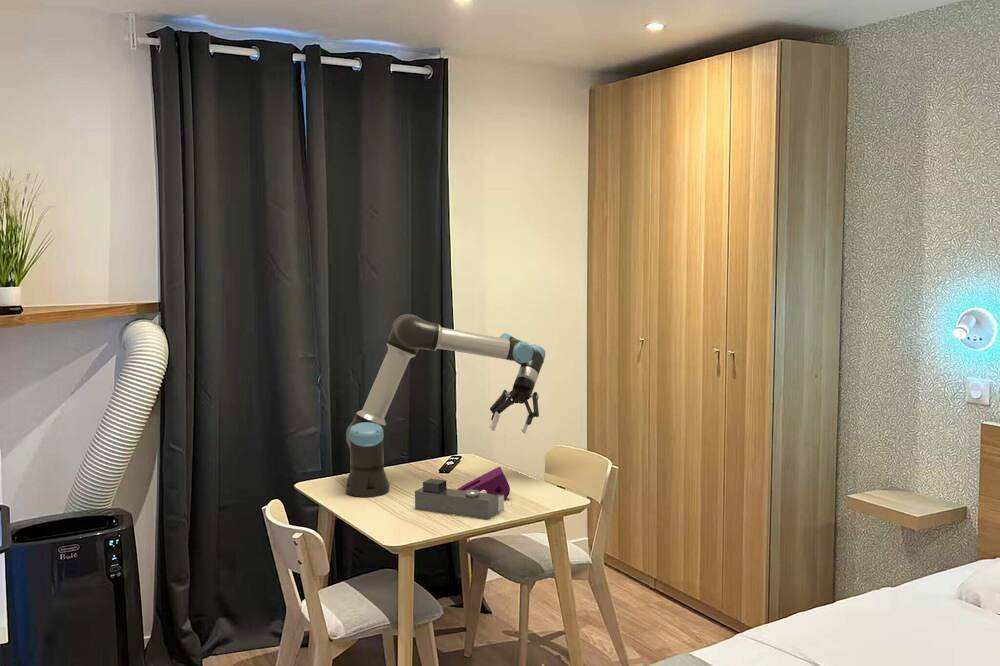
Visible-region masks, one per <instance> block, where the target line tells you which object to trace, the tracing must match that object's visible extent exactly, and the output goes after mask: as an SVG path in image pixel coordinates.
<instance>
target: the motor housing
mask: <svg viewBox="0 0 1000 666" xmlns="http://www.w3.org/2000/svg"><path fill="white" fill-rule="evenodd" d="M447 485H448V484H447V480H445V479H437V478H428V479H427V480H424V481H423V482H422V487H421V488H418V489H416V490H415V491H414V509H415V510H421V511H427V512H432V513H433V512H434V513H439V512H441V513H440V514H446V513H448V515H453V514H455V516H460V515H461V516H462V515H463V516H462V517H467V516H469V517H468V518H474V517H476V518H475V519H481V518H483V519H482V520H488V519H489V520H490V519H492V518H493V516H494V517H495V516H497V515H498V513H499V512H500V513H502V512H504V511H505V500H504V495H499V494H498V495H493V494H487V493H483V492H479V491H478V490H467V491H462V490H457V489H453V488H447ZM501 511H502V512H501ZM500 513H499V514H500ZM496 514H497V515H496ZM491 517H492V518H491Z"/></svg>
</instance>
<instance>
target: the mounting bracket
mask: <svg viewBox="0 0 1000 666" xmlns="http://www.w3.org/2000/svg"><path fill="white" fill-rule="evenodd" d="M456 490H462V491H467V490H478V491H479V493H481V492H483V491H485V492H486V494H493V495H498V494H499V495H504V501H505V500H506V499H507V498H508V497H509V495H510V492H511V488H510V484H509V481H508V480H507V477H506V475H505V474H504V471H503V470H502V467H501V466H497V467H496V468H494V469H492V470H490V471H488V472H486V473H485V474H482V475H480V476H478V477H475V479H473V480H470V481H469V482H467V483H465V484H463V485H462V486H460V487H458V488H457V489H456Z"/></svg>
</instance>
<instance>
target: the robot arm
mask: <svg viewBox="0 0 1000 666" xmlns="http://www.w3.org/2000/svg"><path fill="white" fill-rule="evenodd" d="M390 329H391V332H390V335H389V336H388V339H387V342H386V347H387V352H386V354H385V356H384V358H383V361H382V363H381V366H380V368H379V370H378V373H377V375H376V377H375V379H374V382H373V383H372V387H371V389H370V391H369V394H368V395H367V398H366V401H365V402H364V405H363V407H362V409H361V410H358V411H357V412H356V413H355V416H354V418H353V419H352V422H351V423H350V424H349V426H348V427H347V429H346V431H345V432H346V433H345V440H346V443H347V445H348V447H349V458H350V461H349V464H350V465H349V466H350V471H349V474H348V478H347V482H346V484H345V493H346V495H348V494H349V495H348V496H351V495H353V496H352V497H356V496H360V497H359V498H370V497H369V496H372V497H377V496H378V495H379V496H381V495H386V494H387V493H389V492H390V482H389V481H388V479H389V478H388V477H387V473H386V471H385V460H384V459H385V458H384V436H385V434H384V430H385V428H386V425H387V423H386V421H385V418H386V415H387V413H388V410H389V408H390V406H391V404H392V401H393V399H394V397H395V395H396V392H397V390H398V388H399V385H400V384H401V381H402V377H403V376H404V373H405V371H406V369H407V366H408V364H409V363H410V360H411V359H412V358H415V357H416V356H417V353H418V352H419V350H426V351H433V352H436V350H437V349H440V350H444V351H445V350H447V351H451V352H458V353H462V354H469V355H470V354H471V355H476V356H482V357H489V358H496V359H500V360H506V361H511V362H512V361H513V362H514V363H516V364H518V365H519V366H520V367H519V369H518V372H517V374H516V378H515V380H514V383H513V385H512V389H511V390H510V391H509V390H508V391H507V389H504V390H503V391H502V394H501V395H500V396H498V398H497V399H496V400H495V401H494V403H493V404H492V406H491V407H489V411H490V412H491V413H492V416H491V423H490V425H489V426H490V429H491V430H492V431H493V432H495V430H496V428H497V426H498V425H497V424H498V423H499V420H500V418H501V415H500V414H501V413H503V412H504V411H505V410H506V409H507V408H509V407H510V406H512V405H514V404H521V405H522V404H524V405H525V407H526V411H527V413H526V414H525V416H524V420H523V423H522V425H521V428H520V430H521V432H522V433H523V434H526V433H527V430H528V427H529V426H530V425H531V424H532V421H533V419H534V418H539V417H540V413H539V401H538V400H539V398H540V396H539V394H538V392H536V391H534V389H535V386H536V383H537V380H538V377H539V375H540V371H541V370H542V367H543V364H544V361H545V358H546V350H545V349H544V348H543V347H542V346H540V345H537V344H529V343H528V342H527V341H523V340H520V339H517V338H515V337H514V336H513V335H510V334H508V333H506V332H504V333H502V334H501V335H500V336H493V335H488V334H481V333H476V332H469V331H463V330H458V329H452V328H447V327H442V326H441V324H439V323H434V322H430V321H427V320H426V319H423V318H420V317H419V316H417V315H416V314H412V313H406V314H401V315H400V316H399V317H397V318H395V320H394V321H393V323H392V325H391V328H390ZM530 398H531V399H532V406H533V407H532V408H533V411H532V408H531V405H530V404H529V401H528V400H530Z"/></svg>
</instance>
